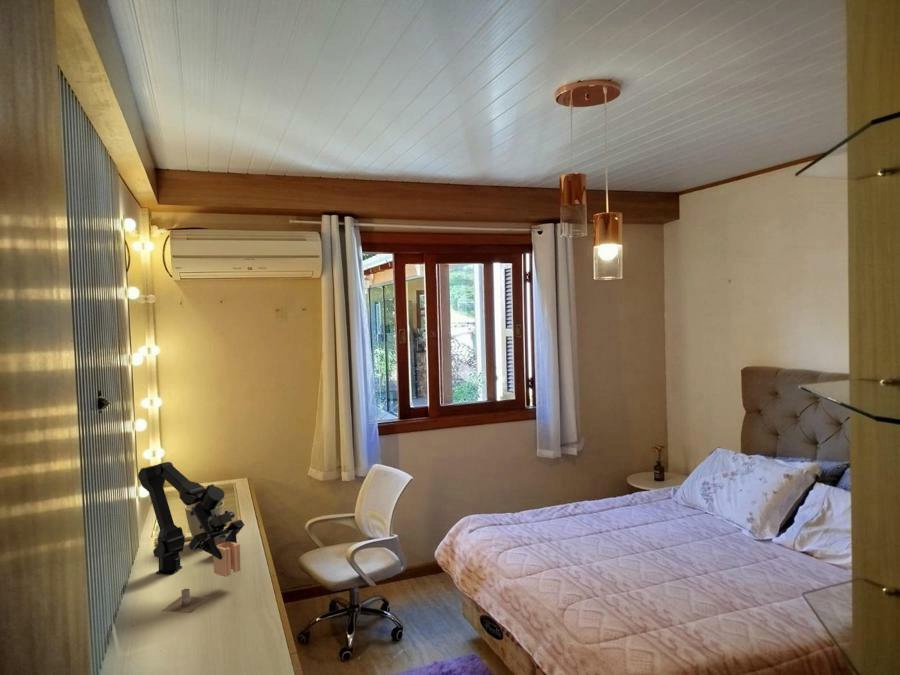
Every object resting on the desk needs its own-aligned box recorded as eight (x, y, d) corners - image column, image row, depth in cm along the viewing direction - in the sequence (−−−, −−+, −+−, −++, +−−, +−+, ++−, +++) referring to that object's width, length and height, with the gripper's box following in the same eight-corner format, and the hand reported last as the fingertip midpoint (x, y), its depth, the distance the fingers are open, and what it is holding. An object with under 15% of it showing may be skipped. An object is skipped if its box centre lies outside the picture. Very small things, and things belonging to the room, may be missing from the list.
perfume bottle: (234, 554, 235) (234, 529, 235) (229, 558, 232) (228, 532, 232) (217, 552, 237) (216, 527, 237) (211, 556, 234) (210, 530, 234)
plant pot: (216, 550, 240) (215, 510, 240) (179, 550, 241) (178, 510, 240) (231, 536, 255) (229, 499, 255) (196, 537, 256) (194, 499, 255)
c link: (213, 573, 203) (213, 546, 203) (228, 566, 208) (228, 540, 208) (225, 576, 200) (224, 549, 200) (240, 570, 205) (239, 543, 205)
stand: (161, 613, 188) (161, 596, 188) (181, 598, 198) (180, 582, 198) (191, 615, 187) (190, 598, 187) (209, 600, 197) (208, 584, 196)
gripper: (193, 511, 197) (216, 551, 192) (240, 496, 213) (262, 533, 208) (179, 531, 202) (201, 570, 196) (226, 515, 218) (247, 551, 212)
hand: (229, 555), depth 203 cm, fingers closed on c link, 6 cm apart
